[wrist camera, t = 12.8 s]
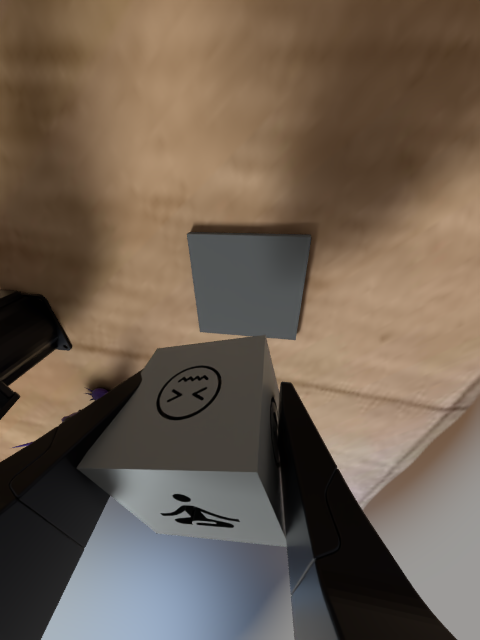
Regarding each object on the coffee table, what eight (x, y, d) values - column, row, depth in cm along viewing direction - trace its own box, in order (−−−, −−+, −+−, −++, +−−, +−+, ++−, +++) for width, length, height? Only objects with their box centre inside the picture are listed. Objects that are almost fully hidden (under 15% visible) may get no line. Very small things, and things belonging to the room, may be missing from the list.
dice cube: (195, 416, 13) (156, 533, 9) (157, 348, 10) (76, 467, 6) (284, 412, 12) (289, 546, 7) (265, 335, 9) (257, 472, 5)
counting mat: (295, 335, 19) (295, 340, 18) (202, 327, 20) (200, 331, 19) (310, 234, 14) (311, 236, 14) (190, 232, 15) (186, 234, 15)
